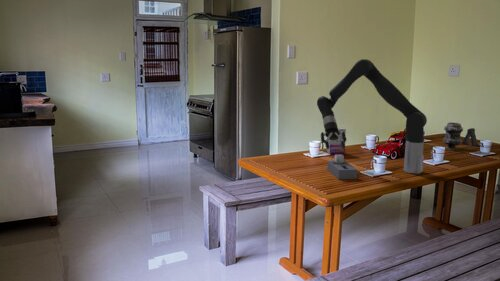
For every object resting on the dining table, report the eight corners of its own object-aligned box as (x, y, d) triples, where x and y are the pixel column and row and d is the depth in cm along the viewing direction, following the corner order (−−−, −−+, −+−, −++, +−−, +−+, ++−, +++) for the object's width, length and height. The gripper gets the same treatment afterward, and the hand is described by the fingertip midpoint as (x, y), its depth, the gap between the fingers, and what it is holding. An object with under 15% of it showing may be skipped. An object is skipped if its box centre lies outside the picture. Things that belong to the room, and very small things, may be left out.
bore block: (344, 168, 240) (344, 160, 239) (356, 178, 221) (357, 169, 220) (327, 169, 239) (327, 160, 238) (338, 179, 219) (338, 170, 219)
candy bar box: (341, 151, 283) (342, 127, 280) (345, 153, 279) (346, 129, 275) (326, 152, 280) (327, 128, 277) (329, 154, 276) (330, 129, 272)
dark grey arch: (461, 144, 308) (463, 128, 306) (465, 143, 312) (466, 127, 309) (474, 146, 301) (476, 129, 299) (477, 145, 305) (479, 128, 303)
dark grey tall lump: (460, 151, 285) (463, 125, 282) (441, 149, 291) (443, 123, 287) (461, 148, 295) (464, 122, 292) (443, 146, 301) (445, 121, 298)
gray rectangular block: (340, 169, 237) (341, 154, 235) (343, 171, 233) (343, 156, 231) (333, 170, 236) (334, 154, 235) (336, 171, 233) (336, 156, 231)
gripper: (320, 121, 243) (325, 144, 235) (343, 121, 245) (349, 144, 236) (317, 129, 250) (322, 152, 241) (340, 128, 251) (346, 151, 242)
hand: (335, 148), depth 239 cm, fingers open, 8 cm apart
